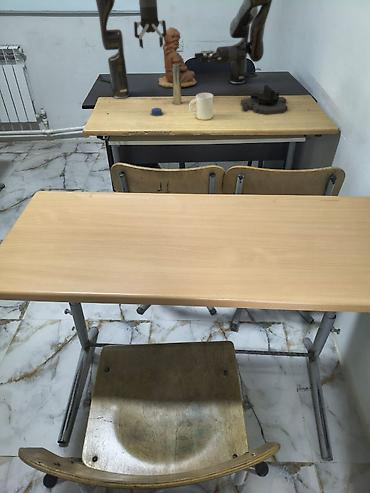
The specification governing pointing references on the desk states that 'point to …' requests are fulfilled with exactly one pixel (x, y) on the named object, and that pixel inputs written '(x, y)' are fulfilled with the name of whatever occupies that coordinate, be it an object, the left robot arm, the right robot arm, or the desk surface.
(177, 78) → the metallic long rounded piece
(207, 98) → the mug
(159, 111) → the lid
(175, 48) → the sculpture
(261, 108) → the abstract sculpture
